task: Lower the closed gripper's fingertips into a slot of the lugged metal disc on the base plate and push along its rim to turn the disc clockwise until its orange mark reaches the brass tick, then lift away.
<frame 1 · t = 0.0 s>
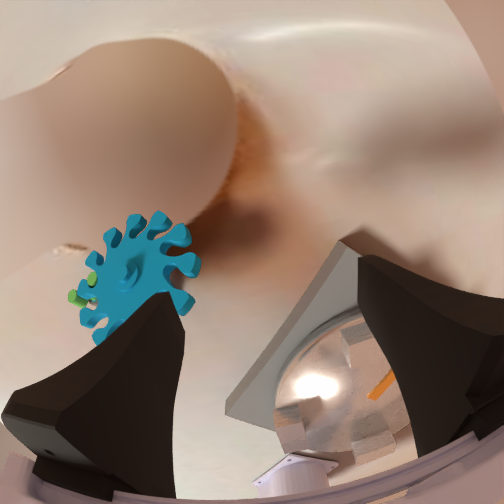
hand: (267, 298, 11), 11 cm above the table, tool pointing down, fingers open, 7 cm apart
base plate: (356, 368, 24), on the table
lugged metal disc: (371, 398, 20), point 4 cm above the table, hinge at 0.0°
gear: (144, 263, 22), on the table
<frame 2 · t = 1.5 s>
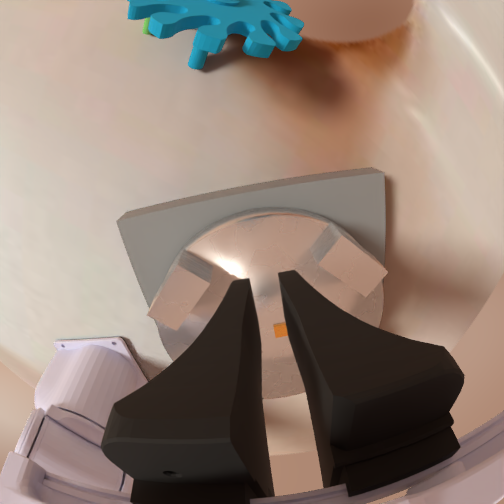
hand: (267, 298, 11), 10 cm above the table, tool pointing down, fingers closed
base plate: (268, 296, 23), on the table
lugged metal disc: (274, 330, 19), point 4 cm above the table, hinge at 0.0°
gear: (214, 23, 14), on the table
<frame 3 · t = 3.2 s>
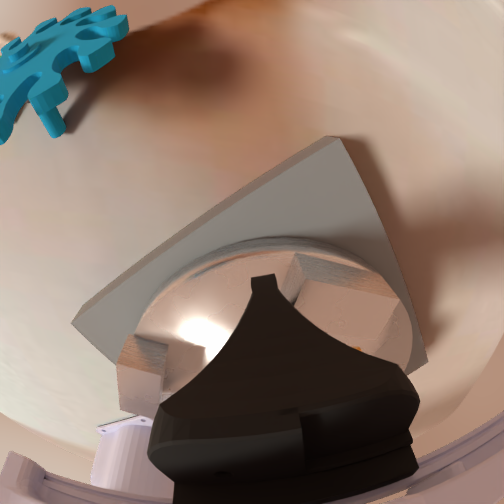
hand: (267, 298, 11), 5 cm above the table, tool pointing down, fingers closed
base plate: (269, 338, 18), on the table
lugged metal disc: (276, 389, 14), point 4 cm above the table, hinge at -4.7°, touching gripper
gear: (60, 73, 11), on the table
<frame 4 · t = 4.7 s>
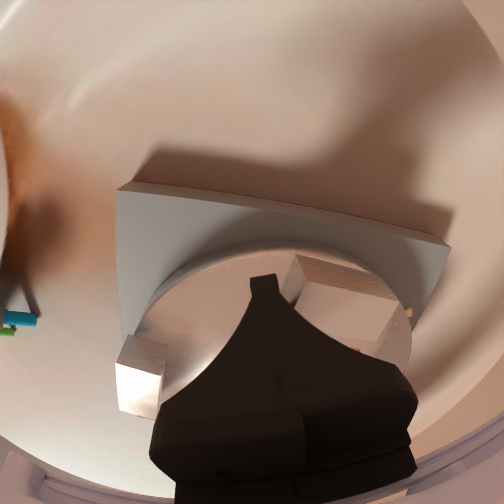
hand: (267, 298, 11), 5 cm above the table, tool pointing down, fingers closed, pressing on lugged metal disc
base plate: (268, 339, 18), on the table
lugged metal disc: (275, 390, 14), point 4 cm above the table, hinge at -51.5°, touching gripper
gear: (7, 289, 16), on the table
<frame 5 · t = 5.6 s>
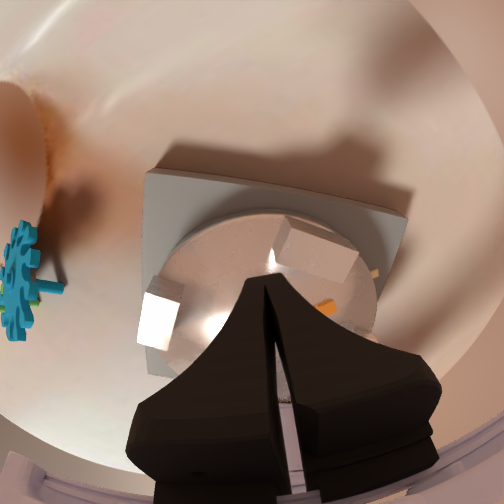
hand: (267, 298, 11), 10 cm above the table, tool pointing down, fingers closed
base plate: (260, 297, 23), on the table
lugged metal disc: (265, 332, 19), point 4 cm above the table, hinge at -55.3°
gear: (37, 262, 21), on the table
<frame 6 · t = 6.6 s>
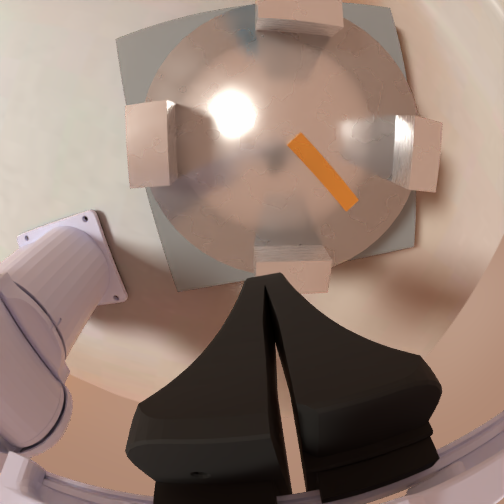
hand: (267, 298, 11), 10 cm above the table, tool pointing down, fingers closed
base plate: (280, 135, 18), on the table
lugged metal disc: (293, 138, 14), point 4 cm above the table, hinge at -55.3°
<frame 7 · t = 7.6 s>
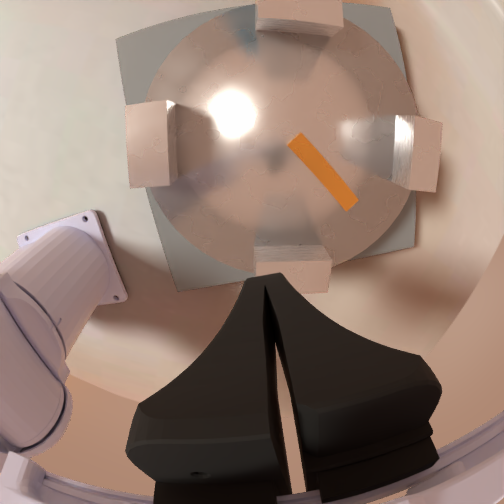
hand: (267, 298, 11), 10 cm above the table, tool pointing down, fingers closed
base plate: (280, 135, 18), on the table
lugged metal disc: (293, 138, 14), point 4 cm above the table, hinge at -55.3°
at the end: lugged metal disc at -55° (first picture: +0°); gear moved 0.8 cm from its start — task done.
